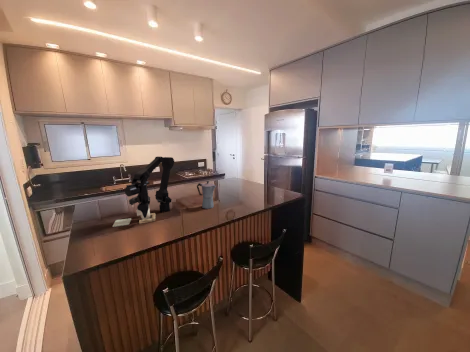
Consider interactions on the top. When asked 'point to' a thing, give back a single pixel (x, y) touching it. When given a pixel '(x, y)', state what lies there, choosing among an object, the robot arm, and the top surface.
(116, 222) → the sage coaster
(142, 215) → the cream jug
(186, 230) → the top surface
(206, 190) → the moka pot
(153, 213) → the oak cradle
